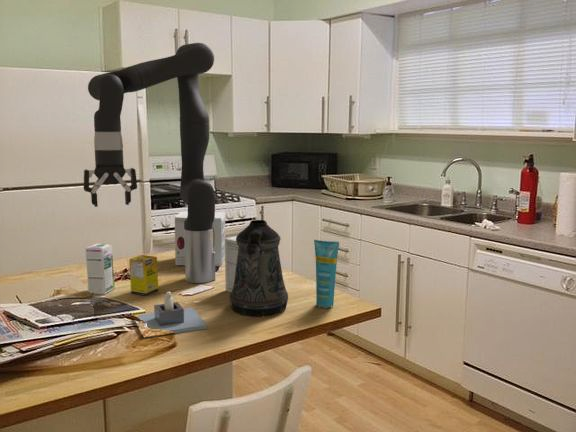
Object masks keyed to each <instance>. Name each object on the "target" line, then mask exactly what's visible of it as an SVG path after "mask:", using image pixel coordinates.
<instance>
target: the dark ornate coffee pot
mask: <svg viewBox="0 0 576 432" xmlns="http://www.w3.org/2000/svg"><path fill="white" fill-rule="evenodd" d="M236 236H237V237H236V242H237V244H238V246H239V249H238V256H237V264H236V271H235V280H234V286H233V290H232V292H230V294H229V301H230V305H231V310H232V311H233V312H234V313H235V314H238V315H240V316H247V317H252V318H253V317H254V318H255V317H256V318H263V317H262V316H265V317H272V315H273V316H276V315H279V314H278V313H280V314H281V312H282V311H283V312H285V311H286V309H287V305H288V300H289V293H288V291H287V289H286V286H285V281H284V276H283V270H282V264H281V258H280V251H279V246H280V243H281V236H280V235H279V233H278V232H277V231H275V230H274V229H273V228H272V227H271V226H269V224H268V222H267V221H266V220H263V219H254V220H250V222H249V225H247V226H246V227H245V228H244V229H242V230H241V231H240V232H239V233H238V234H237V235H236ZM284 310H285V311H284ZM283 312H282V313H283ZM275 314H276V315H275Z"/></svg>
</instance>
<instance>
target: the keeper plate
mask: <svg viewBox="0 0 576 432" xmlns="http://www.w3.org/2000/svg"><path fill="white" fill-rule="evenodd" d="M173 303H174V297H173V296H172V292H171V291H167V292H165V297H164V304H165V310H172V309H173ZM183 309H184V322H183V323H176V324H170V325H163V326H160V325H159V324H158V322H157V321H156V319H155V313H154V312H150V313H143V314H138V315H139V316H138V318H139V319H140V320H143V321H144V322H145V323H147V327H148V328H151V329H160V330H169V331H172V332H174V333H175V334H178V333H179V334H180V333H186V332H187V333H188V332H194V331H199V330H200V331H201V330H206V329H208V324H207V323H206V321H205V320H204V319H203V318H202V317H201V316H200V315H199V313H198V312H197V311H196V310H195V308H194V307H186V308H184V307H183Z"/></svg>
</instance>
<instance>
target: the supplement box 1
mask: <svg viewBox="0 0 576 432" xmlns="http://www.w3.org/2000/svg"><path fill="white" fill-rule="evenodd" d="M128 260H129V261H128V262H129V275H130V277H129V278H130V294H133V295H139V296H140V295H141V296H145V297H147V296H149V295H152V294H154V293H155V292H158V291H159V275H158V257H157V256H155V255H154V256H153V255H147V254H141V255H137V256H134V257H132V258H128Z"/></svg>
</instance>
